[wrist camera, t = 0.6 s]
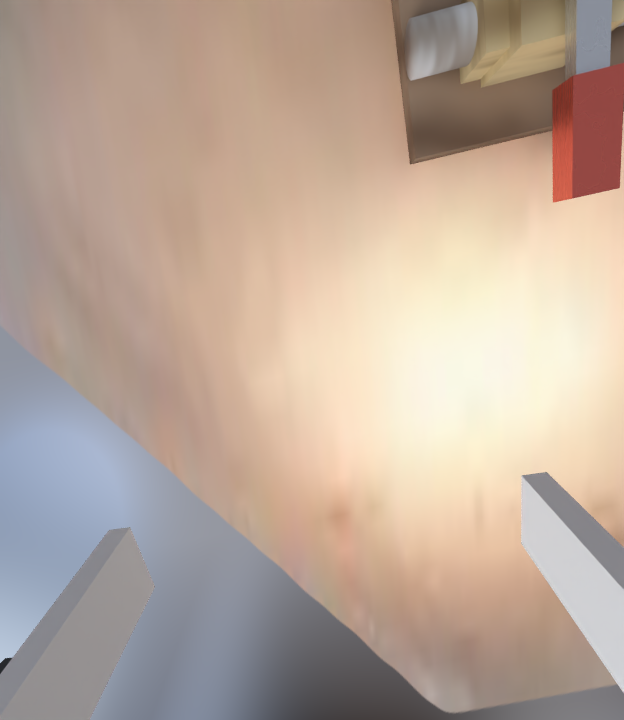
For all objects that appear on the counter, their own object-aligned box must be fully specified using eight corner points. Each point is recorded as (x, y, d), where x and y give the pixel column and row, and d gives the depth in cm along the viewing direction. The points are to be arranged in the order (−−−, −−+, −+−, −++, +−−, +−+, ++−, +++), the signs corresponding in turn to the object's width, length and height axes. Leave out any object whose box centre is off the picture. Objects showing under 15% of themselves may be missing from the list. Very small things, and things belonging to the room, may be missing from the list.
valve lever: (550, -45, 21) (577, -80, 19) (601, -59, 21) (635, -96, 18) (552, 202, 25) (574, 197, 23) (595, 193, 25) (622, 187, 23)
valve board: (388, -27, 28) (413, -133, 20) (624, -95, 26) (749, -238, 19) (410, 164, 32) (438, 136, 24) (615, 115, 30) (715, 68, 23)
